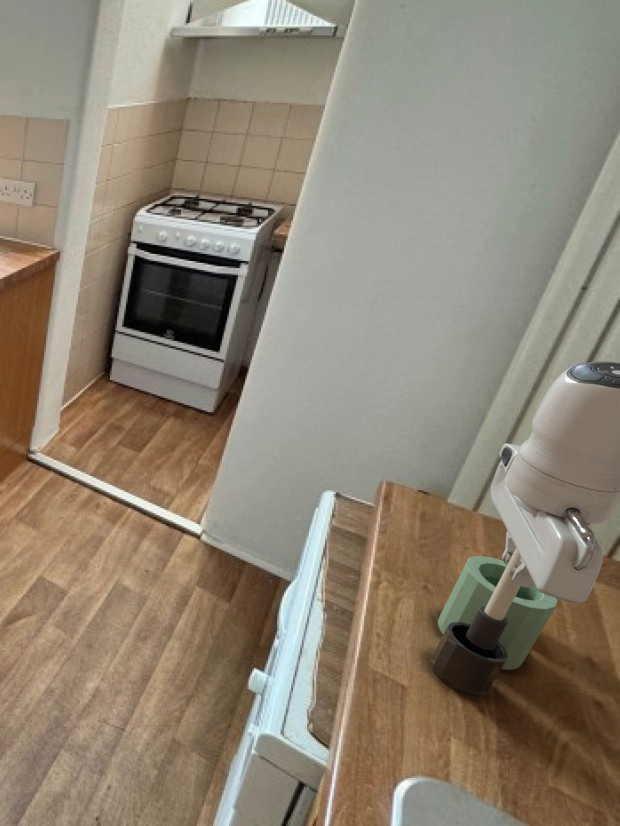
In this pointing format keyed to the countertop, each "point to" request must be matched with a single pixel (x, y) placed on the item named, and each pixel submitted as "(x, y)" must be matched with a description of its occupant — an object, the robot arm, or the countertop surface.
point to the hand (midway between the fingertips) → (515, 573)
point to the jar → (522, 614)
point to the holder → (466, 662)
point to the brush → (495, 610)
